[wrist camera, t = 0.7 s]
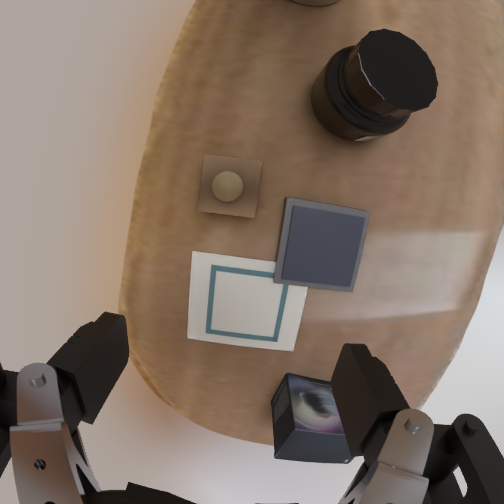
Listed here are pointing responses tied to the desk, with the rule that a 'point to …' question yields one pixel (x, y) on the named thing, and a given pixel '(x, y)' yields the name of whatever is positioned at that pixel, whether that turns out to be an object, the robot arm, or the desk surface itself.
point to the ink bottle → (374, 86)
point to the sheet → (242, 303)
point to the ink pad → (320, 245)
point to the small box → (307, 422)
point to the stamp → (229, 185)
